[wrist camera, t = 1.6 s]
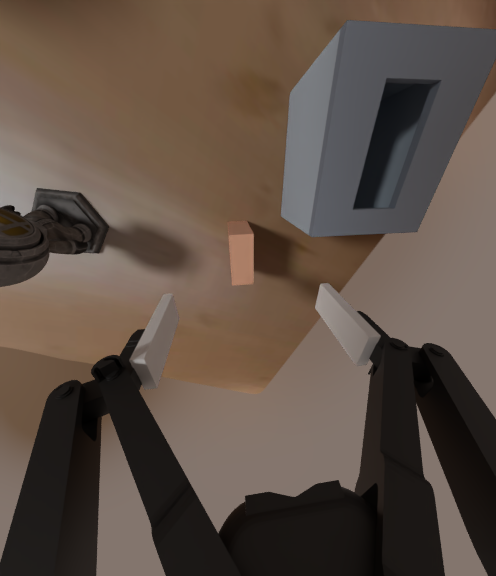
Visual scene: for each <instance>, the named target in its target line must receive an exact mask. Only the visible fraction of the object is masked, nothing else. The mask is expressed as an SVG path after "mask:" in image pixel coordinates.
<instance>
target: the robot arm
mask: <svg viewBox="0 0 496 576" xmlns="http://www.w3.org/2000/svg"><path fill="white" fill-rule="evenodd" d="M315 308H316V310H317V311H318V313H319V314H320V315H321V317H322V318H323V319H324V321H325V322H326V324H327V325H328V326H329V328H330V330H331V331H332V333H333V334H334V335H335V337H336V338H337V340H338V341H339V343H340V344H341V345H342V347H343V348H344V350H345V351H346V353H347V354H348V355H349V357H350V358H351V359H352V361H353V362H354V364H355V365H356V366H361V365H367V363H368V361H369V359H370V360H371V361H372V363H373V365H372V367H371V369H370V371H369V373H368V374H370V373H371V377H370V385H369V394H368V403H367V413H366V421H365V430H364V439H363V448H362V457H361V467H360V474H359V477H358V480H357V483H356V488H355V492H352V491H351V490H349V489H346V488H343V487H341V486H340V483H339V480H336V481H331V482H324V483H318V484H315V485H314V486H312V487H311V488H309V489H308V490H306V491H304V492H303V493H301V494H300V495H298V496H296V497H290V496H286V495H281V494H277V493H272V492H265V493H259V494H253V495H248V496H245V500H246V503H245V502H244V503H242V504H241V505H239V506H238V507H237V508H236V509H235V510H234V511H233V512H232V513H231V514H230V515H229V516H228V518H227V519H226V521H225V522H224V524H223V526H222V528H221V529H220V531H219V533H217V531H216V529H215V527H214V525H213V524H212V522H211V520H210V518H209V516H208V515H207V513H206V511H205V509H204V507H203V506H202V504H201V502H200V500H199V499H198V497H197V495H196V493H195V491H194V490H193V488H192V486H191V484H190V482H189V480H188V479H187V477H186V475H185V473H184V471H183V470H182V468H181V466H180V464H179V462H178V461H177V459H176V457H175V455H174V454H173V452H172V450H171V448H170V446H169V444H168V443H167V441H166V439H165V437H164V435H163V433H162V432H161V430H160V428H159V426H158V424H157V423H156V421H155V419H154V417H153V415H152V414H151V412H150V410H149V408H148V406H147V405H146V403H145V401H144V399H143V397H142V396H141V394H140V392H139V390H140V387H141V385H142V386H143V388H144V389H154V388H158V384H159V381H160V378H161V375H162V372H163V369H164V365H165V362H166V359H167V356H168V353H169V350H170V347H171V343H172V340H173V337H174V334H175V331H176V328H177V325H178V321H179V315H178V311H177V308H176V304H175V300H174V296H173V294H163V296H162V298H161V300H160V302H159V304H158V306H157V308H156V310H155V312H154V313H153V315H152V317H151V319H150V321H149V323H148V325H147V327H146V329H141V330H137V331H136V332H135V333H134V334H133V335H132V336H131V337H130V339H129V341H128V343H127V344H126V346H125V348H124V349H123V351H122V353H121V354H120V356H118V355H111V356H107V357H105V358H103V359H101V360H100V361H98V362H97V363H96V364H95V365H94V366H93V368H92V370H91V374H92V375H93V377H94V378H95V380H92V381H90V382H87V383H84V384H81V383H80V382H79V381H78V380H71V381H68V382H65V383H63V384H62V385H60V386H58V387H57V388H56V389H54V390H53V391H52V392H51V394H50V395H49V396H48V398H47V401H46V404H45V408H44V411H43V415H42V418H41V422H40V425H39V429H38V432H37V436H36V439H35V443H34V447H33V450H32V453H31V457H30V460H29V464H28V467H27V471H26V474H25V478H24V481H23V485H22V488H21V492H20V495H19V499H18V503H17V506H16V509H15V513H14V516H13V520H12V523H11V527H10V530H9V534H8V537H7V541H6V544H5V548H4V551H3V555H2V559H1V562H0V576H96V564H97V535H98V506H99V478H100V448H101V447H100V446H101V420H102V416H103V415H106V414H108V413H110V416H111V419H112V421H113V424H114V426H115V429H116V432H117V435H118V437H119V440H120V442H121V445H122V448H123V451H124V453H125V456H126V459H127V461H128V464H129V467H130V469H131V472H132V475H133V477H134V480H135V483H136V485H137V488H138V490H139V493H140V496H141V499H142V501H143V504H144V506H145V509H146V512H147V515H148V517H149V520H150V523H151V527H152V537H153V541H154V544H155V547H156V550H157V553H158V555H159V558H160V561H161V564H162V566H163V569H164V572H165V575H166V576H445V573H444V565H443V558H442V550H441V542H440V535H439V527H438V519H437V511H436V504H435V497H434V492H433V488H432V486H431V484H430V483H429V482H428V481H427V480H425V478H424V474H423V466H422V457H421V447H420V437H419V427H418V418H417V408H416V403H417V406H418V408H419V411H420V413H421V416H422V418H423V420H424V423H425V426H426V428H427V431H428V433H429V436H430V438H431V441H432V443H433V446H434V449H435V451H436V454H437V456H438V459H439V461H440V464H441V466H442V469H443V471H444V474H445V476H446V479H447V481H448V484H449V486H450V489H451V491H452V494H453V496H454V499H455V502H456V504H457V507H458V509H459V512H460V514H461V517H462V519H463V522H464V524H465V527H466V529H467V532H468V534H469V536H470V539H471V541H472V543H473V546H474V548H475V550H476V552H477V555H478V556H479V558H480V560H481V562H482V564H483V566H484V568H485V570H486V572H487V574H488V576H496V419H495V417H494V416H493V415H492V413H491V412H490V410H489V409H488V408H487V406H486V405H485V403H484V402H483V400H482V399H481V398H480V396H479V395H478V393H477V392H476V390H475V389H474V387H473V386H472V384H471V383H470V382H469V380H468V379H467V377H466V376H465V374H464V373H463V372H462V370H461V369H460V367H459V366H458V364H457V363H456V361H455V360H454V359H453V357H452V356H451V354H450V353H449V352H448V351H447V350H445V349H444V348H442V347H440V346H438V345H435V344H432V343H426V344H424V345H423V346H422V348H415V347H409V346H408V345H407V344H406V343H404V342H403V341H401V340H399V339H395V338H390V337H389V336H388V335H387V334H386V333H385V332H384V331H383V330H382V329H381V328H380V327H379V326H378V325H376V324H375V322H373V321H372V320H371V319H370V318H369V317H368V316H367V315H366V314H364V313H363V312H361V311H356V310H355V309H354V308H353V307H352V306H350V304H349V303H348V302H347V301H346V300H345V299H344V298H343V297H342V296H341V295H340V294H339V293H338V292H337V291H336V290H335V289H334V288H333V287H332V286H331V285H330V284H329V283H323V284H320V288H319V293H318V297H317V302H316V306H315Z"/></svg>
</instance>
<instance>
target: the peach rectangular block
mask: <svg viewBox="0 0 496 576" xmlns="http://www.w3.org/2000/svg"><path fill="white" fill-rule="evenodd" d="M228 234H229V249H230V263H231V275H232V285H246V284H254V233H253V232H252V230H251V228H250V226H249V224H248V222H247V221H228Z"/></svg>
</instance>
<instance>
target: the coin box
mask: <svg viewBox="0 0 496 576" xmlns="http://www.w3.org/2000/svg"><path fill="white" fill-rule="evenodd" d="M495 59H496V29H481V28H465V27H449V26H434V25H418V24H402V23H386V22H370V21H354V20H347V21H346V22H345V24H344V25H343V26H342V27H341V29H340V30H339V31H338V33H337V34H336V35H335V36H334V38H333V39H332V40H331V41H330V43H329V44H328V45H327V47H326V48H325V49H324V50H323V52H322V53H321V54H320V55H319V57H318V58H317V59H316V60H315V62H314V63H313V64H312V66H311V67H310V68H309V69H308V71H307V72H306V73H305V74H304V76H303V77H302V78H301V80H300V81H299V82H298V83H297V85H296V86H295V87H294V88H293V90H292V91H291V92H290V101H289V114H288V128H287V141H286V155H285V168H284V182H283V195H282V209H281V217H283V218H284V219H286V220H287V221H289V222H290V223H292V224H293V225H295V226H296V227H298V228H299V229H301V230H302V231H303V232H305V233H306V234H308V235H309V236H311V237H323V236H344V235H365V234H386V233H406V232H417V231H418V228H419V226H420V224H421V222H422V220H423V218H424V215H425V213H426V211H427V209H428V206H429V204H430V202H431V200H432V198H433V195H434V193H435V191H436V189H437V187H438V185H439V182H440V180H441V178H442V176H443V174H444V171H445V169H446V167H447V165H448V163H449V160H450V158H451V156H452V154H453V151H454V149H455V147H456V145H457V143H458V141H459V138H460V136H461V134H462V132H463V130H464V127H465V125H466V123H467V121H468V119H469V116H470V114H471V112H472V110H473V108H474V105H475V103H476V101H477V99H478V97H479V94H480V92H481V90H482V88H483V86H484V83H485V81H486V79H487V77H488V75H489V72H490V70H491V68H492V66H493V64H494V61H495Z"/></svg>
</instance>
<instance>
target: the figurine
mask: <svg viewBox="0 0 496 576" xmlns="http://www.w3.org/2000/svg"><path fill="white" fill-rule="evenodd" d="M14 210H15V207H14V206H11V205H8V206H3V207H1V208H0V287H3V286H9V285H14V284H17V283H21V282H23V281H26V280H28V279H30V278H32V277H33V276H35V275H36V274H38V273H39V272H40V271H41V270H42V269H43V268H44V266H45V265H46V263H47V261H48V258H49V252H51V253H58V254H80V253H83V252H84V253H99V252H100V249H101V246H102V244H103V241H104V239H105V236H106V233H107V231H108V228H109V226H108V225H107V224H106V223H105V222H104V220H103V219H102V218H101V217H100V216H99V215H98V213H97V212H96V211H95V210H94V209H93V207H92V206H91V205H90V204H89V203H88V201H87V200H86V199H85V198H84V197H83V195H82V194H81V193H78V192H69V191H59V190H50V189H41V188H37V190H36V192H35V197H34V202H33V207H32V212H30V213H28V214H27V215H25V216H23V217H22V216H20V215H21V214H20V212H15V211H14Z"/></svg>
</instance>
